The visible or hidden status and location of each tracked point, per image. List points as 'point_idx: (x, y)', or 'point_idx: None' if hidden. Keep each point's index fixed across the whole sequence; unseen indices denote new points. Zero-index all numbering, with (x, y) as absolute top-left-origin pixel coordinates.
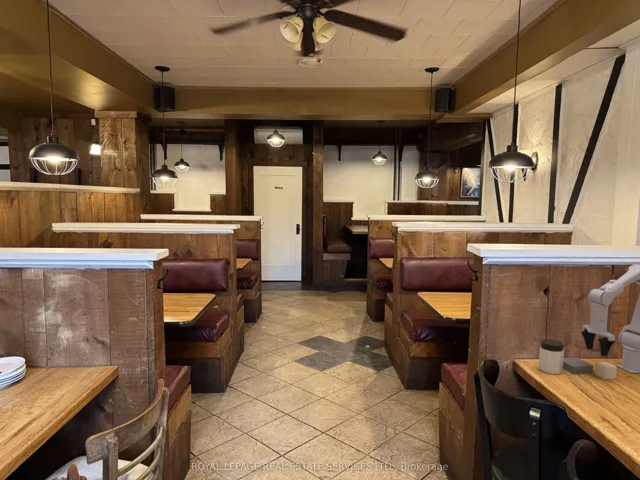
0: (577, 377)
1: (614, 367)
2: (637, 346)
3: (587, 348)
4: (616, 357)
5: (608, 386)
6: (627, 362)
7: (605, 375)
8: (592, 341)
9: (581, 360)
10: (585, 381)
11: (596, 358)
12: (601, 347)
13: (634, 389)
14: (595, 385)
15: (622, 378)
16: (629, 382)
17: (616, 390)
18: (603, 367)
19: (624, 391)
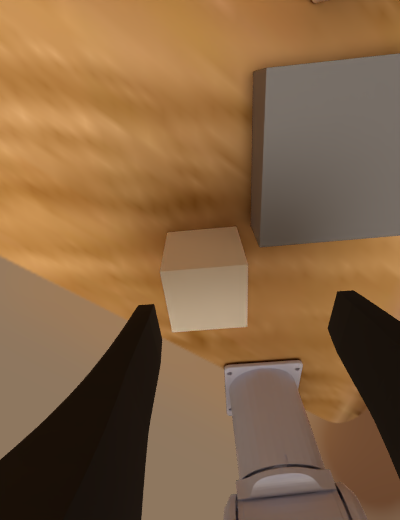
0: (192, 67)
1: (170, 318)
2: (245, 515)
3: (345, 295)
4: None
5: (67, 190)
6: (260, 396)
7: (165, 246)
8: (375, 404)
9: (355, 229)
10: (123, 83)
11: None
12: (104, 380)
13: (60, 286)
14: (63, 114)
15: None
16: None
17: (18, 198)
18: (175, 265)
19: (18, 230)
